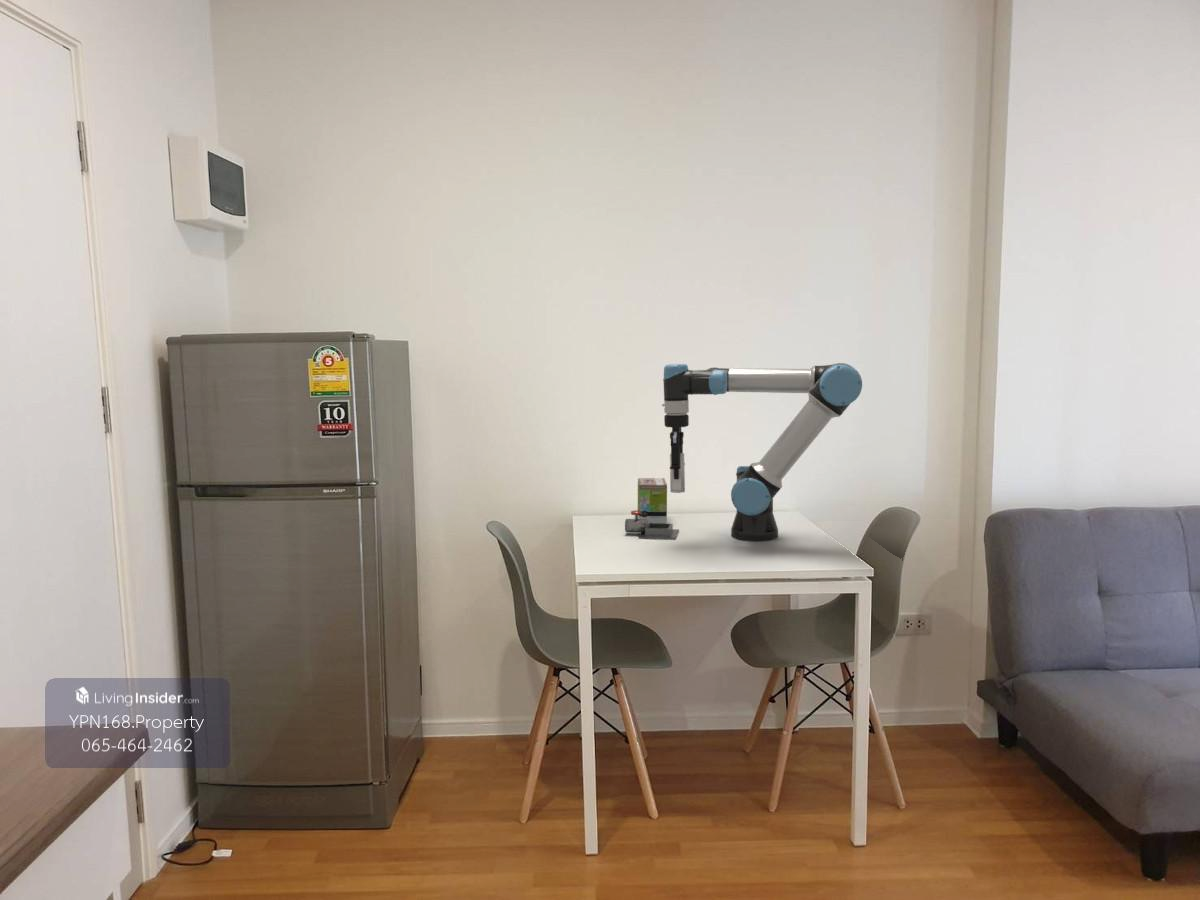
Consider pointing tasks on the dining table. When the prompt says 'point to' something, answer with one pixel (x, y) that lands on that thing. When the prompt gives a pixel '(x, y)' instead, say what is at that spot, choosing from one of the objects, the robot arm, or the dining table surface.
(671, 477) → the pipe
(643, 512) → the tea box
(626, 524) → the grey knobbed block
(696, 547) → the dining table surface
